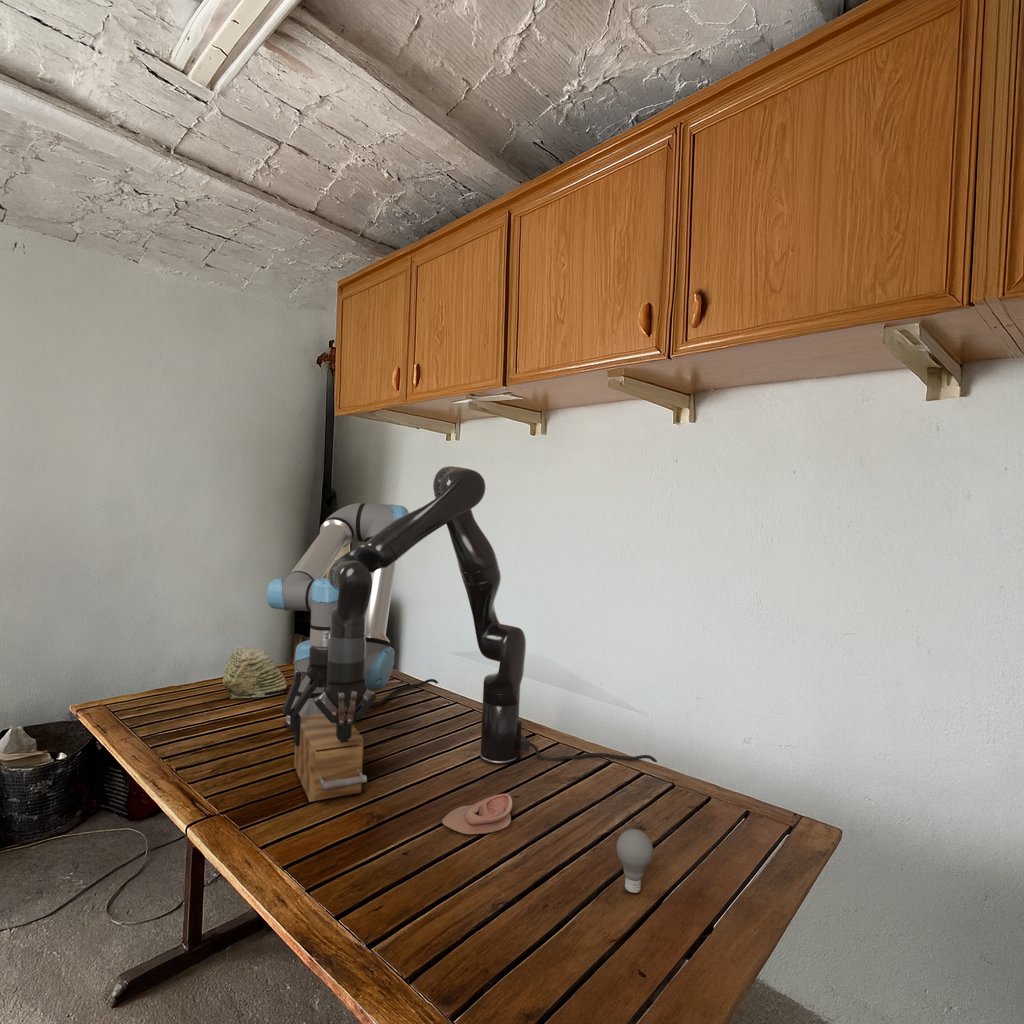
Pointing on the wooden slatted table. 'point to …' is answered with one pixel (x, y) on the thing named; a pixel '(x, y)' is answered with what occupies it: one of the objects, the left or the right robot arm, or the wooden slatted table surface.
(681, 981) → the wooden slatted table surface
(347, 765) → the drawer
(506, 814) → the anatomical model
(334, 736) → the cabinet
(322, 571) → the left robot arm
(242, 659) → the fossil
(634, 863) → the light bulb
